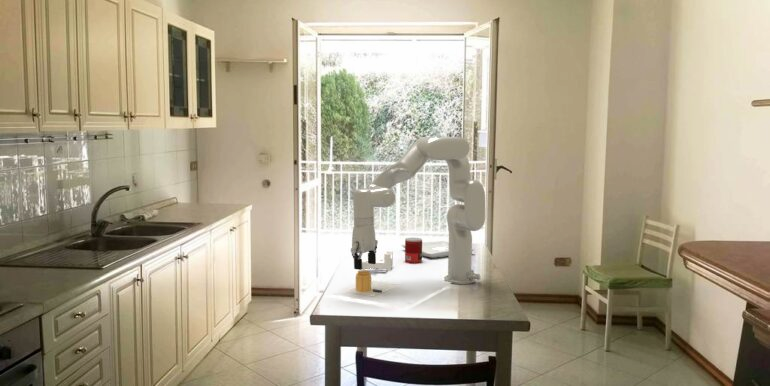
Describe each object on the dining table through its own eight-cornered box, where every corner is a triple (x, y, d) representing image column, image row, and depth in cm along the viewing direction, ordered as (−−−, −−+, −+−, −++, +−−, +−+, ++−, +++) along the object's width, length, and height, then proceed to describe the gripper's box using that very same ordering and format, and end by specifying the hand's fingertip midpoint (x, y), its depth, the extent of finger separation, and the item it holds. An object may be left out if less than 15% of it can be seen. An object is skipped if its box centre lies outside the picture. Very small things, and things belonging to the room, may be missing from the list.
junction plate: (399, 288, 241) (399, 274, 240) (372, 300, 224) (373, 285, 223) (373, 284, 247) (373, 270, 246) (345, 295, 230) (345, 281, 229)
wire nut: (361, 287, 237) (361, 269, 236) (373, 289, 234) (373, 270, 233) (353, 290, 232) (353, 272, 231) (365, 292, 229) (365, 273, 228)
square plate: (475, 255, 307) (475, 248, 306) (429, 261, 293) (429, 253, 293) (444, 246, 330) (444, 239, 330) (400, 251, 317) (400, 243, 316)
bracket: (392, 267, 278) (392, 251, 277) (390, 271, 271) (390, 254, 270) (364, 266, 280) (364, 250, 280) (361, 269, 273) (361, 253, 273)
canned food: (422, 263, 285) (422, 240, 284) (405, 263, 286) (405, 240, 284) (421, 260, 293) (421, 237, 292) (404, 260, 293) (405, 237, 292)
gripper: (367, 217, 239) (368, 260, 241) (342, 224, 225) (344, 270, 227) (384, 218, 236) (385, 262, 238) (359, 226, 221) (361, 272, 223)
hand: (365, 266), depth 232 cm, fingers open, 9 cm apart
